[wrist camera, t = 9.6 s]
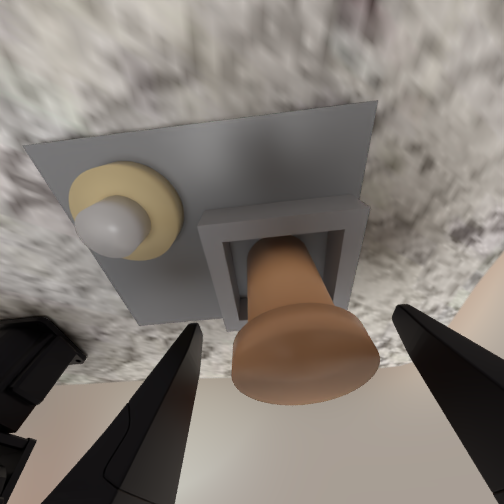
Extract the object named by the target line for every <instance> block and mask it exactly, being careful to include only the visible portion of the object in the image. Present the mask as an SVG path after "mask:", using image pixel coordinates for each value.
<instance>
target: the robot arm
mask: <svg viewBox="0 0 504 504" xmlns="http://www.w3.org/2000/svg"><path fill="white" fill-rule="evenodd" d="M392 321H393V323H394V326H395V328H396V330H397V332H398V334H399V336H400V338H401V340H402V342H403V344H404V346H405V348H406V350H407V352H408V354H409V356H410V358H411V360H412V361H413V363H414V365H415V366H416V368H417V369H418V371H419V373H420V374H421V376H422V378H423V379H424V381H425V383H426V384H427V386H428V388H429V389H430V391H431V393H432V394H433V396H434V398H435V399H436V401H437V402H438V404H439V406H440V407H441V409H442V410H443V412H444V414H445V415H446V417H447V419H448V421H449V422H450V424H451V426H452V427H453V429H454V431H455V432H456V434H457V435H458V437H459V439H460V440H461V442H462V444H463V445H464V447H465V448H466V450H467V452H468V454H469V455H470V457H471V459H472V460H473V462H474V464H475V465H476V467H477V468H478V470H479V472H480V473H481V475H482V477H483V478H484V480H485V482H486V483H487V485H488V487H489V488H490V490H491V491H492V492H493V495H494V497H495V498H496V500H497V502H498V503H499V504H504V359H502V358H500V357H498V356H497V355H495V354H493V353H491V352H490V351H488V350H486V349H485V348H483V347H481V346H479V345H478V344H476V343H474V342H473V341H471V340H469V339H467V338H466V337H464V336H462V335H461V334H459V333H457V332H455V331H454V330H452V329H450V328H448V327H447V326H445V325H443V324H442V323H440V322H438V321H436V320H435V319H433V318H431V317H430V316H428V315H426V314H424V313H423V312H421V311H419V310H418V309H416V308H414V307H412V306H411V305H408V304H400V305H397V306H396V308H395V310H394V313H393V315H392ZM202 342H203V334H202V331H201V329H200V326H199V324H198V323H190V324H188V325H187V327H186V328H185V329H184V331H183V332H182V333H181V334H180V336H179V337H178V338H177V340H176V341H175V342H174V343H173V345H172V346H171V347H170V349H169V350H168V351H167V353H166V354H165V355H164V356H163V358H162V359H161V360H160V362H159V363H158V364H157V365H156V367H155V368H154V369H153V371H152V372H151V373H150V374H149V376H148V377H147V378H146V380H145V381H144V383H143V384H142V385H141V386H140V387H139V389H138V390H137V391H136V393H135V394H134V395H133V396H132V398H131V399H130V400H129V403H127V404H126V406H125V407H124V408H123V409H122V410H121V412H120V413H119V414H118V416H117V417H116V418H115V419H114V421H113V422H112V423H111V424H110V426H109V427H108V428H107V429H106V431H105V432H104V433H103V434H102V435H101V436H100V437H99V439H98V440H97V441H96V442H95V443H94V445H93V446H92V447H91V448H90V449H89V450H88V451H87V453H86V454H85V455H84V456H83V457H82V458H81V459H80V461H79V462H78V463H77V464H76V465H75V466H74V467H73V468H72V470H71V471H70V472H69V473H68V474H67V475H66V476H65V477H64V479H63V480H62V481H61V482H60V483H59V484H58V485H57V486H56V488H55V489H54V490H53V491H52V492H51V493H50V494H49V495H48V497H47V498H46V499H45V500H44V501H43V502H42V503H41V504H175V499H176V494H177V489H178V484H179V478H180V473H181V468H182V463H183V458H184V452H185V447H186V442H187V437H188V432H189V426H190V421H191V416H192V410H193V405H194V400H195V395H196V390H197V385H198V380H199V374H200V365H201V353H202ZM86 359H87V357H86V356H85V355H84V354H83V353H82V352H81V351H80V350H79V349H78V348H77V347H76V346H75V345H74V344H73V343H72V342H71V341H70V340H69V339H68V338H67V337H66V336H65V335H64V334H63V333H62V332H61V331H60V330H59V329H58V328H57V327H56V326H55V325H54V324H53V323H52V322H51V321H50V320H48V319H47V318H44V317H33V318H23V319H12V320H2V321H0V504H7V502H8V500H9V497H10V495H11V493H12V491H13V489H14V487H15V485H16V483H17V481H18V479H19V477H20V475H21V472H22V471H23V469H24V466H25V464H26V462H27V460H28V458H29V456H30V454H31V452H32V450H33V447H34V446H35V443H36V441H37V440H35V439H32V438H27V439H25V438H22V437H19V436H16V435H12V434H9V433H15V432H16V431H17V430H18V429H19V428H20V426H21V425H22V424H23V422H24V421H25V420H26V418H27V417H28V416H29V414H30V413H31V412H32V410H33V409H34V407H35V406H36V405H38V404H40V403H41V402H42V401H43V400H44V398H45V397H46V395H47V394H48V393H49V391H50V390H51V389H52V387H53V386H54V384H55V383H56V382H57V380H58V379H59V378H60V376H61V375H62V374H63V372H64V371H65V369H66V368H67V367H68V365H72V364H82V363H84V362H85V360H86Z"/></svg>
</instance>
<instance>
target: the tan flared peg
mask: <svg viewBox="0 0 504 504" xmlns="http://www.w3.org/2000/svg"><path fill="white" fill-rule="evenodd" d="M247 298H248V323H247V324H245V325H244V326H243V327H242V328H241V330H240V331H239V332H238V334H237V335H236V337H235V340H234V343H233V357H232V375H231V376H232V381H233V383H234V385H235V386H236V388H237V389H238V390H239V391H240V392H242V393H243V394H245V395H246V396H248V397H250V398H252V399H255V400H258V401H261V402H265V403H270V404H277V405H305V404H313V403H319V402H324V401H328V400H332V399H335V398H338V397H340V396H343V395H346V394H348V393H350V392H352V391H354V390H356V389H358V388H359V387H361V386H362V385H364V384H365V383H366V382H368V380H370V379H371V377H373V375H374V374H375V373H376V371H377V369H378V367H379V364H380V356H379V353H378V351H377V349H376V347H375V345H374V343H373V342H372V340H371V338H370V337H369V335H368V333H367V331H366V330H365V328H364V326H363V324H362V323H361V321H360V320H359V319H358V318H357V317H356V316H355V315H354V314H352V313H351V312H349V311H347V310H345V309H342V308H340V307H337V306H335V305H334V303H333V301H332V299H331V297H330V295H329V293H328V291H327V289H326V287H325V285H324V283H323V280H322V278H321V276H320V274H319V272H318V270H317V268H316V266H315V264H314V262H313V260H312V258H311V256H310V254H309V252H308V250H307V248H306V246H305V244H304V243H303V242H302V241H301V240H300V239H298V238H296V237H294V236H292V235H286V236H277V237H267V238H262V239H260V240H259V241H258V242H256V243H255V244H254V245H253V247H252V248H251V249H250V251H249V254H248V257H247Z"/></svg>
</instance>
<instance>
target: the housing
mask: <svg viewBox="0 0 504 504" xmlns="http://www.w3.org/2000/svg"><path fill="white" fill-rule="evenodd" d="M377 103H378V100H377V101H369V102H361V103H353V104H345V105H337V106H330V107H322V108H314V109H306V110H298V111H290V112H282V113H275V114H267V115H259V116H251V117H243V118H235V119H227V120H220V121H212V122H204V123H196V124H188V125H180V126H172V127H165V128H157V129H149V130H141V131H133V132H125V133H117V134H110V135H102V136H94V137H86V138H78V139H70V140H62V141H55V142H47V143H39V144H31V145H23V148H24V149H25V151H26V152H27V154H28V155H29V157H30V158H31V160H32V161H33V163H34V165H35V166H36V168H37V169H38V171H39V172H40V174H41V175H42V177H43V178H44V180H45V182H46V183H47V185H48V186H49V188H50V189H51V191H52V192H53V194H54V195H55V197H56V198H57V200H58V202H59V203H60V205H61V206H62V208H63V209H64V211H65V212H66V214H67V215H68V217H69V219H70V220H71V222H72V223H73V225H74V226H75V229H76V232H77V235H78V236H79V238H80V239H81V241H82V242H83V243H84V244H85V245H86V246H87V247H88V248H89V249H90V251H91V252H92V254H93V255H94V257H95V259H96V260H97V262H98V263H99V265H100V266H101V268H102V269H103V271H104V272H105V274H106V276H107V277H108V279H109V280H110V282H111V283H112V285H113V286H114V288H115V289H116V291H117V292H118V294H119V296H120V297H121V299H122V300H123V302H124V303H125V305H126V306H127V308H128V309H129V311H130V313H131V314H132V316H133V317H134V319H135V320H136V322H137V323H138V325H139V326H143V325H154V324H165V323H176V322H186V321H197V320H208V319H219V318H223V320H224V324H225V327H226V331H227V332H229V331H240V330H241V328H242V327H243V326H244V325H245V324H247V323H248V298H247V257H248V254H249V251H250V249H251V248H252V247H253V245H254V244H255V243H256V242H258V241H259V240H260V239H262V238H267V237H277V236H286V235H292V236H294V237H296V238H298V239H300V240H301V241H302V242H303V243H304V244H305V246H306V248H307V250H308V252H309V254H310V256H311V258H312V260H313V262H314V264H315V266H316V268H317V270H318V272H319V274H320V276H321V278H322V280H323V283H324V285H325V287H326V289H327V291H328V293H329V295H330V297H331V299H332V301H333V303H334V305H335V306H337V307H340V308H342V309H345V310H347V309H348V305H349V300H350V296H351V291H352V287H353V282H354V278H355V274H356V269H357V265H358V260H359V256H360V251H361V247H362V243H363V238H364V234H365V229H366V225H367V220H368V216H369V212H370V207H369V206H368V205H366V204H365V203H363V202H362V201H360V200H359V198H360V193H361V187H362V182H363V177H364V172H365V166H366V161H367V156H368V151H369V145H370V140H371V135H372V129H373V124H374V119H375V114H376V108H377Z"/></svg>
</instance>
